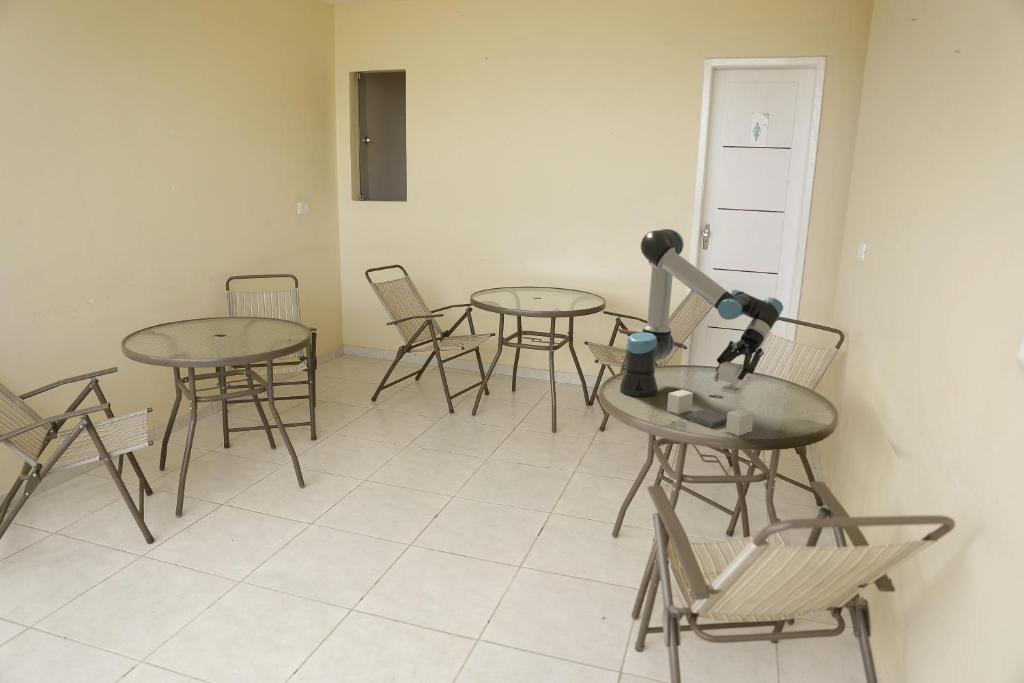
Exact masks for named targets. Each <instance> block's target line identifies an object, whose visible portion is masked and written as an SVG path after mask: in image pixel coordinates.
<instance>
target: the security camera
mask: <svg viewBox="0 0 1024 683" xmlns="http://www.w3.org/2000/svg"><path fill="white" fill-rule="evenodd" d="M718 366H719V365H718ZM742 368H743V364H741V363H736V362H733V361H731V362H727V361H726V362H724V363H721V364H720V366H719V375H718V381H717V382H719V381H721V382H726V383H729V384H726V385H724V386H723V387H721V389H720V391H721V392H723V393H726V394H727V393H728V394H732V395H737V394H739V393H741V392H742V387H740V386H736V388H733V386H732V384H731V382H732V381H733V379H734V378H735V376H736V375H737V373H738V371H739V370H740V369H741V370H743V369H742Z"/></svg>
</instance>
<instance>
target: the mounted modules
mask: <svg viewBox="0 0 1024 683" xmlns="http://www.w3.org/2000/svg"><path fill="white" fill-rule="evenodd" d="M693 395H694V392H691V391H688V390H685V389H680V390H675V391H671V392H668V395H667V408H666V410H667V411H666V412H669V411H670V412H669V413H671V412H673V413H672V414H674V413H676V414H675V415H677V414H678V415H681V414H680V413H682V414H684V413H683V412H685V413H688V412H687V411H689V412H692V411H691V410H693V407H692V406H693V397H694V396H693ZM754 415H755V412H754V411H751V410H747V409H745V408H739V409H735V410H732V411H729V412H727V415H726V416H727V423H726V425H725V433H727V432H729V433H728V434H730V433H732V434H731V435H733V434H735V435H734V436H736V435H741V436H743V435H745V434H744V433H746V434H748V433H747V432H749V433H751V432H750V431H752V432H753V425H754V424H753V423H754V417H755V416H754ZM742 434H743V435H742Z"/></svg>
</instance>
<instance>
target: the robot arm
mask: <svg viewBox="0 0 1024 683" xmlns="http://www.w3.org/2000/svg"><path fill="white" fill-rule="evenodd" d="M684 246H685V245H684V240H683V236H682V235H681V234H680V233H679V232H678V231H676V230H674V229H669V228H663V229H659V230H658V229H657V230H652V231H649V232H647V233H646V234H645V235H644V236H643V237H642V240H641V242H640V250H641V254H642V255H643V256H644V258H645V259H646V260H647V261H648V264H649V265H650V266H651V272H650V273H651V275H650V286H649V298H648V308H647V309H648V310H647V320H646V322H647V323H646V324H645V325H643V327H642V332H635V333H632V334H630V335H629V336H628V338H627V342H626V354H625V355H626V356H625V372H624V375H623V376H622V377H623V378H622V380H621V383H620V384H619V385H620V387H619V391H620V392H621V393H623V394H624V395H626V396H632V397H638V398H646V397H647V398H649V397H652V396H656V395H658V390H659V386H658V385H657V379H656V376H655V374H656V373H655V372H656V370H655V369H656V363H657V361H659V360H662V359H665V358H666V357H667V356H669V355H670V354H671V353H672V352H673V349H674V347H675V346H674V345H675V341H674V337H673V336H672V328H671V327H670V326H669V320H670V319H669V318H670V308H671V299H672V298H671V296H672V287H673V277H674V278H675V279H676V280H678V281H679V282H680V283H682V284H683V285H685V287H687V288H688V289H689V290H691V291H692V292H694V293H695V294H696V295H698V296H699V297H700V298H701V299H703V300H704V301H705V302H707V303H708V304H709V305H711V307H713V308H715V309H716V310H717V313H718V314H719V316H720V317H721V318H722V319H724V320H730V321H731V320H735V319H737V318H739V317H740V316H747V317H749V318H751V320H750V322H749V324H748V325H747V327H746V329H745V330H744V331H743V333H742V335H741V336H740V339H739V340H737V342H734V341H733V340H730V341H729V342H728V345H727V346H726V348H725V349H724V350H723V351H722V353H720V355H719V356H718V357H717V359H716V362H717V363H718V366H717V367H716V369H715V373H714V374H713V376H712V379H713V381H714V382H715V383H718V382H719V381H718V375H719V366H720V364H721V363H724V362H726V361H727V362H733V361H734V360H735V359H736V358H737V357H740V356H741V355H742V356H744V358H743V359H744V360H743V364H742V370H741V369H740V370H739V371H738V373H737V375H736V376H735V378H734V379H733V381H732V382H731V383H730V384H732V386H733V388H736V387H738V384H739V383H740V382H741V381H743V380H744V379H745V377H746V375H747V374H749V375H750V374H752V375H753V374H754V372H755V370H756V368H757V366H758V364H759V362H760V359H761V357H762V356H764V354H765V352H764V350H763V348H761V345H762V344H763V343H764V341H765V339H766V338H767V336H768V334H769V333H770V331H771V329H772V328H773V327H774V325H775V324H776V322H777V321H778V319H779V318H780V315H781V314H782V312H783V310H784V304H783V303H782V302H781V301H780V300H779V299H777V298H775V297H770V296H768V297H766V298H765V299H763V300H762V299H760V298H757V297H756V296H752V295H750V294H749V293H746V292H744V291H741V290H739V289H733V290H731V292H729V291H728V290H727V289H725V288H724V287H723V286H721V284H719V283H717V281H714V279H712V278H711V277H709V276H708V275H706V274H705V273H704V272H703V271H701V270H700V269H699V268H697V267H696V266H695V265H694V264H692V263H691V262H689V261H688V260H686V259H685V258H684V257H683V256H681V255H680V254H681V253H682V252H683V250H684ZM752 356H753V357H752Z"/></svg>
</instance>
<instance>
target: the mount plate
mask: <svg viewBox="0 0 1024 683" xmlns="http://www.w3.org/2000/svg"><path fill="white" fill-rule="evenodd" d="M688 419H690V420H693V421H695V422H694V423H696V422H698V423H697V424H699V423H700V424H699V425H702V424H703V425H702V426H704V425H706V426H705V427H707V426H709V427H708V428H710V427H711V428H710V429H713V427H714V428H716V426H717V427H720V426H723V425H725V424H727V415H724V414H721V413H719V412H716V411H712V410H709V409H706V408H703V409H699V410H696V411H691V412H689V413H687V414H686V420H688ZM690 420H689V421H690ZM693 421H692V422H693Z"/></svg>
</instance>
